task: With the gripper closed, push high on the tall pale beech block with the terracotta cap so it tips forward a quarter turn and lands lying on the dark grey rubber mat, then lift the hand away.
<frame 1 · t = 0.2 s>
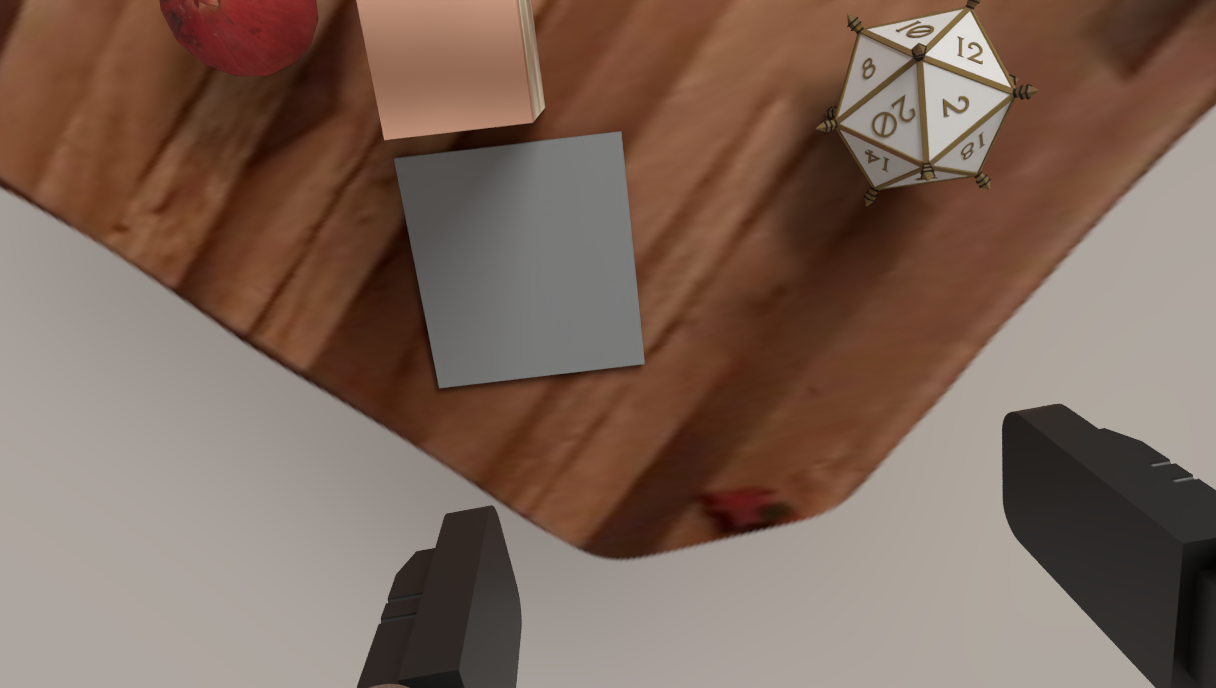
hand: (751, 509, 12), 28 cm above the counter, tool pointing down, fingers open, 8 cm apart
mat: (526, 264, 40), on the counter
beech block: (484, 58, 36), on the counter
game die: (883, 100, 38), on the counter
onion: (274, 9, 36), on the counter
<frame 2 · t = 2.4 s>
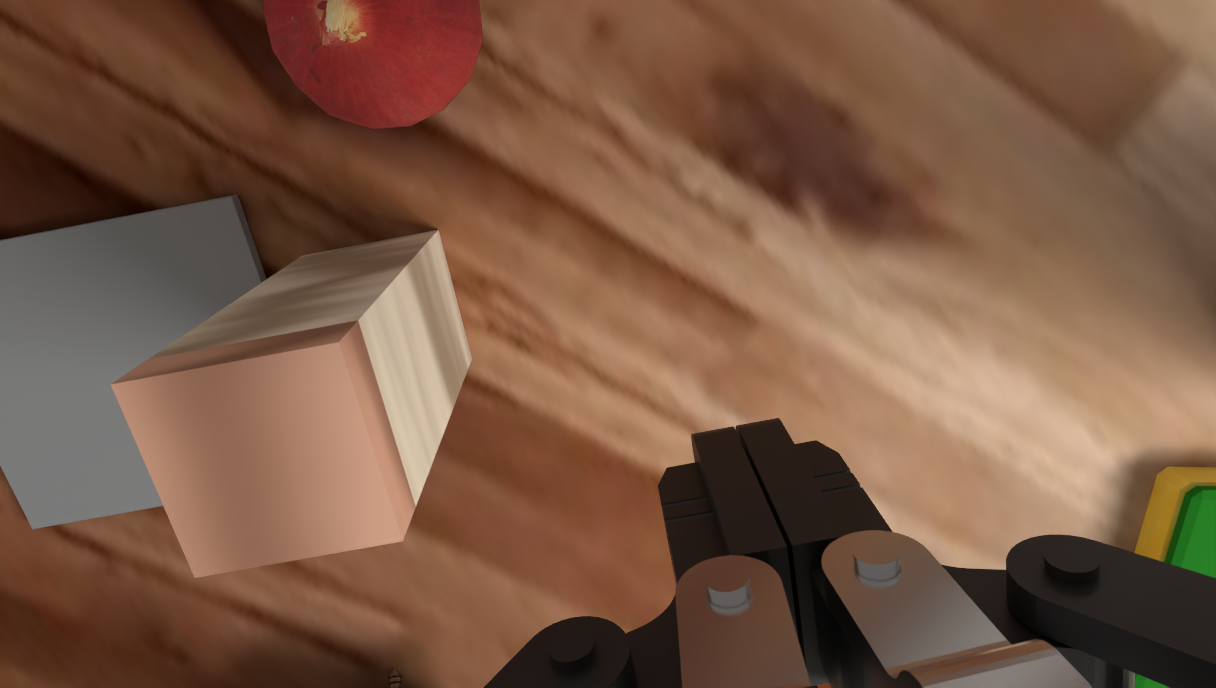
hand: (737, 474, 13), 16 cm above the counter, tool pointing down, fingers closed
dish sponge: (1186, 597, 35), on the counter
mat: (132, 369, 29), on the counter
beech block: (389, 308, 29), on the counter
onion: (406, 26, 26), on the counter
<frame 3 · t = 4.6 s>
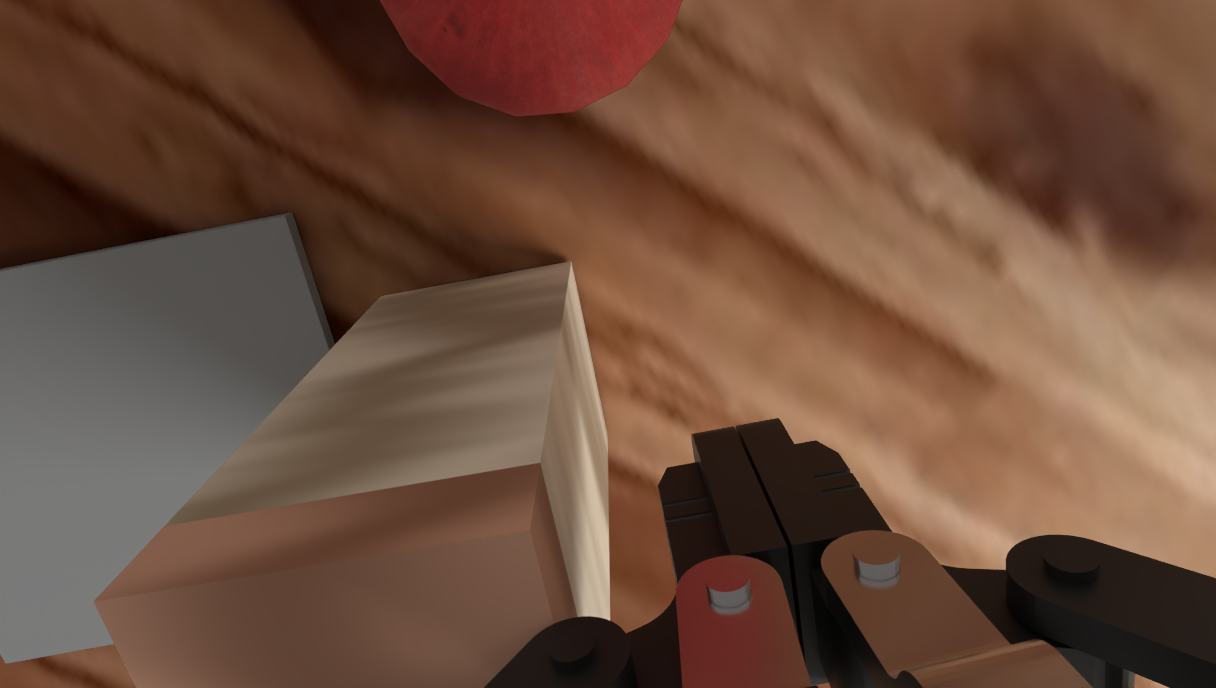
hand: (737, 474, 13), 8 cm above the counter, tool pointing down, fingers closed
mat: (141, 452, 21), on the counter
beech block: (497, 368, 21), on the counter, touching gripper
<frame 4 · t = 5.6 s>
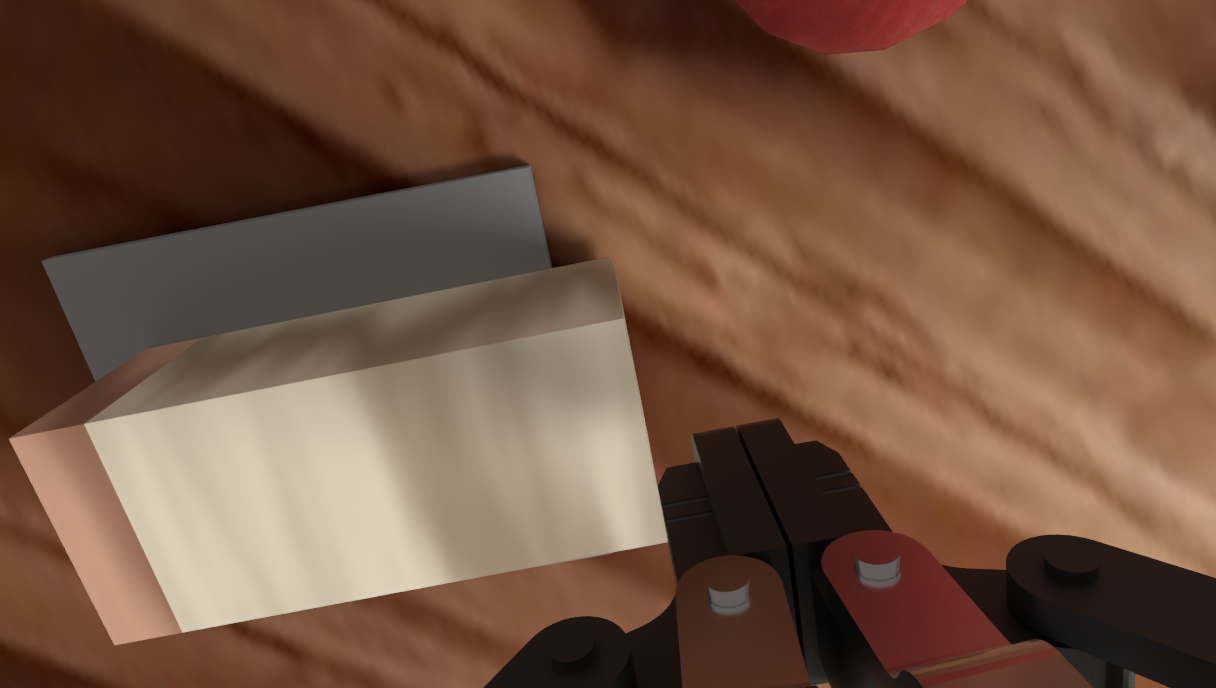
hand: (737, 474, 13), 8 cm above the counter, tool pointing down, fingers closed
mat: (355, 411, 21), on the counter
beech block: (637, 386, 18), point 3 cm above the counter, tilted 90°, touching mat
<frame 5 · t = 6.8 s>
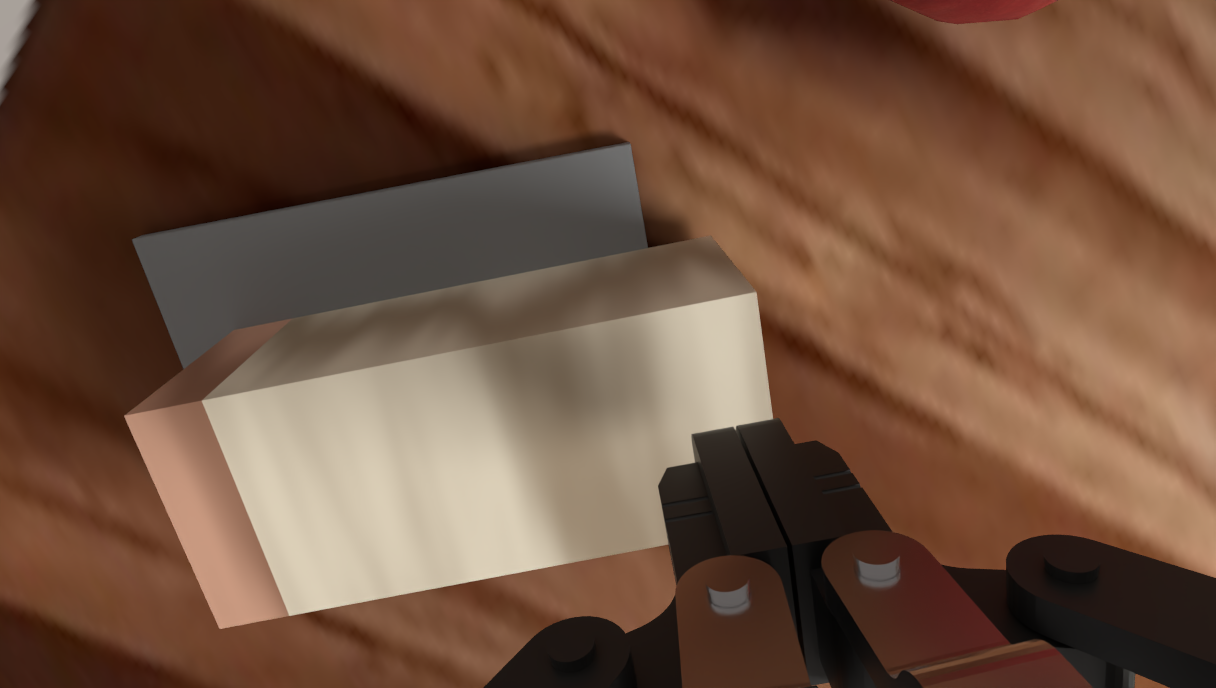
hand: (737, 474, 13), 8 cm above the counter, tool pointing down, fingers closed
mat: (441, 394, 21), on the counter
beech block: (745, 366, 17), point 3 cm above the counter, tilted 90°, touching mat
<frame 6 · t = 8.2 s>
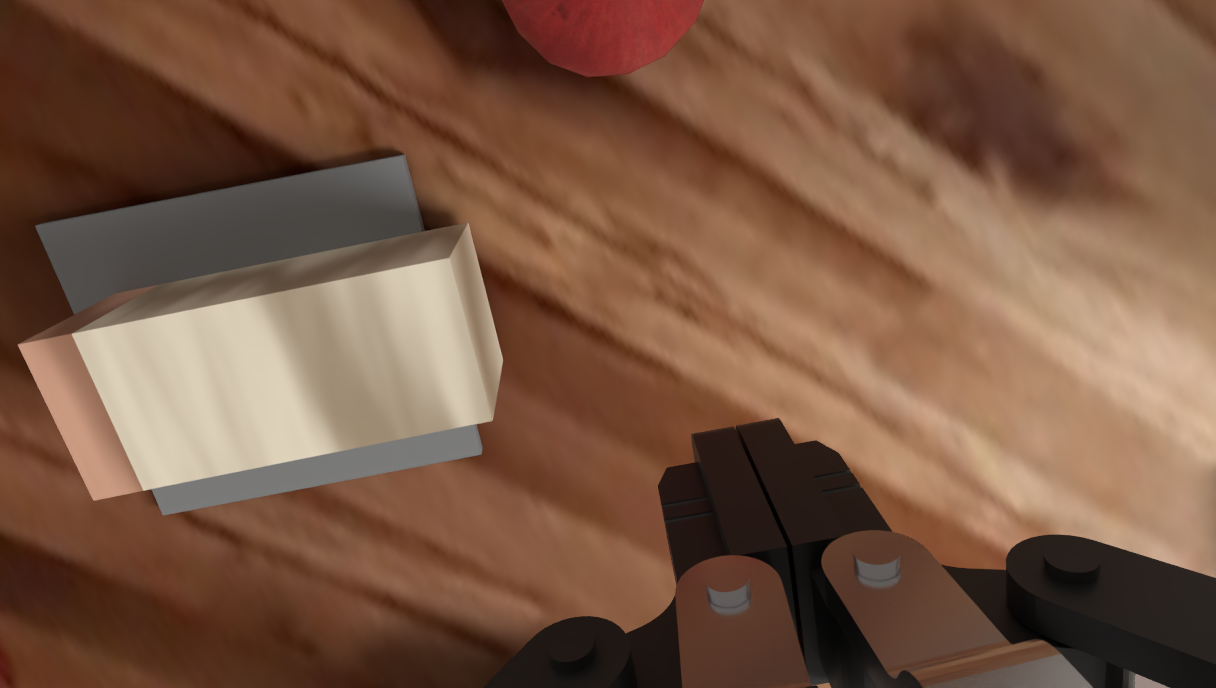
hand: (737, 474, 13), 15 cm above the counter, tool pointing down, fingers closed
mat: (278, 343, 27), on the counter
beech block: (479, 315, 24), point 3 cm above the counter, tilted 90°, touching mat
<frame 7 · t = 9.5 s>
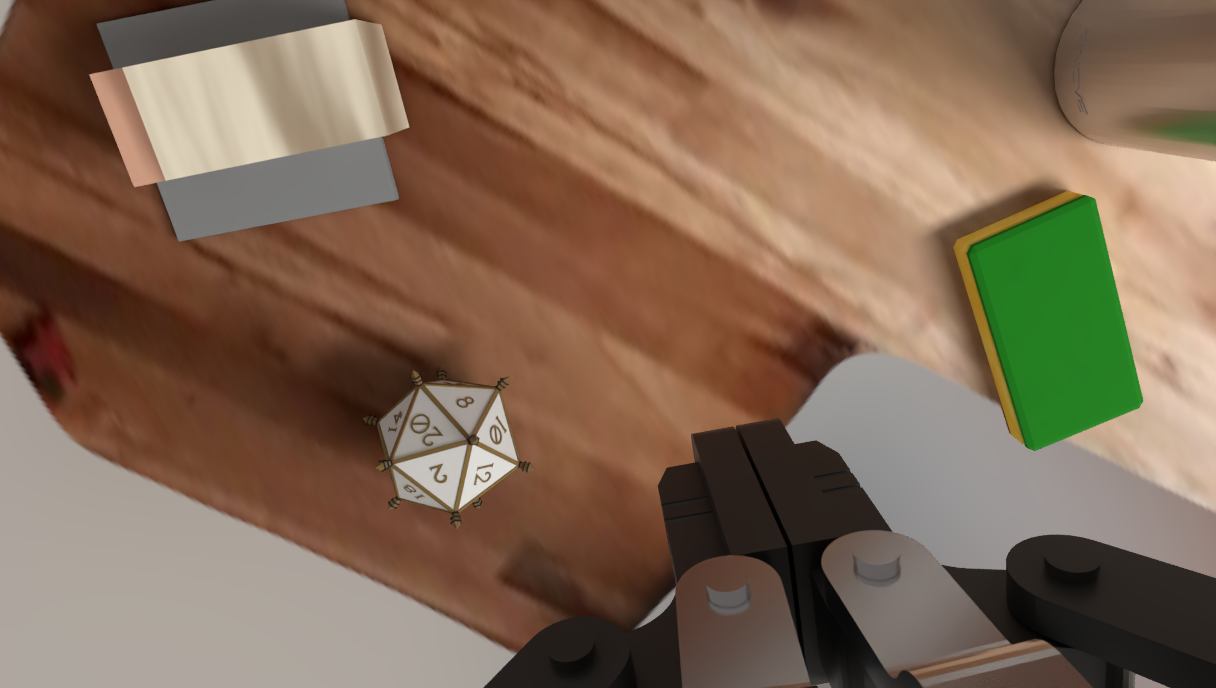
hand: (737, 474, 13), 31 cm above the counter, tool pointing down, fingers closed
dish sponge: (1034, 317, 47), on the counter
mat: (257, 114, 40), on the counter
beech block: (384, 77, 37), point 3 cm above the counter, tilted 90°, touching mat
game die: (458, 411, 47), on the counter
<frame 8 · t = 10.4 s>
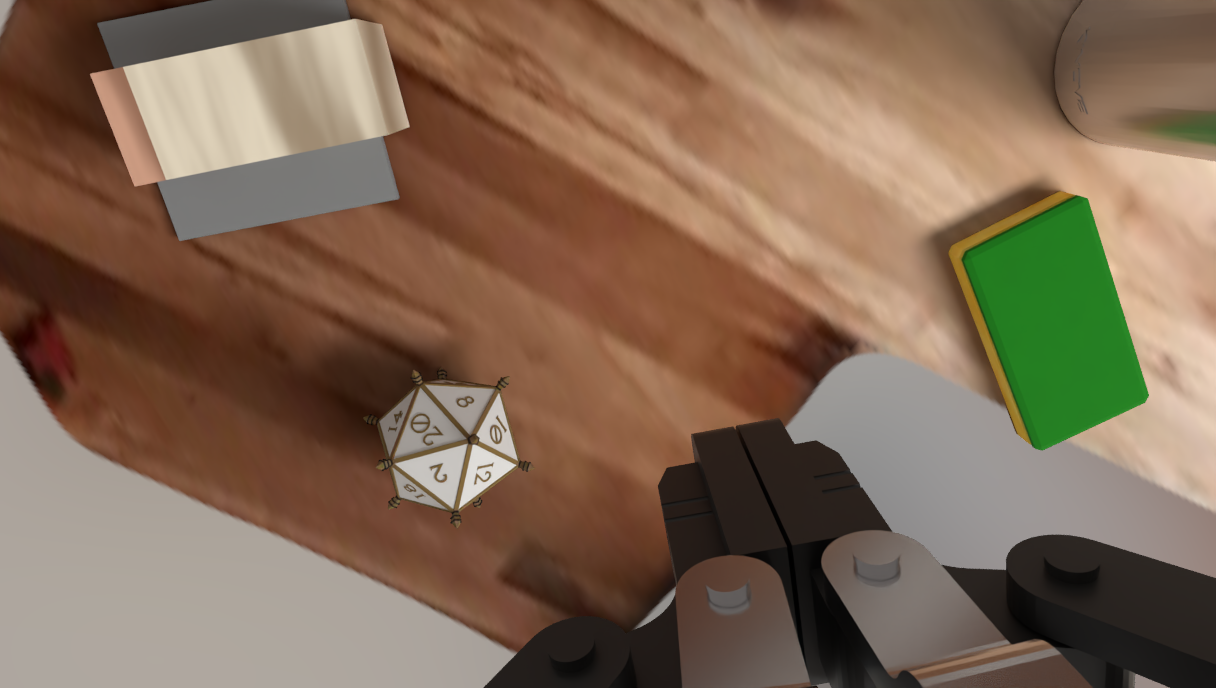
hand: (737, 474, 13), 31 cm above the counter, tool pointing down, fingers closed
dish sponge: (1035, 317, 47), on the counter
mat: (257, 114, 40), on the counter
beech block: (384, 77, 37), point 3 cm above the counter, tilted 90°, touching mat
game die: (459, 411, 47), on the counter
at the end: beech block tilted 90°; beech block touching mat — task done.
